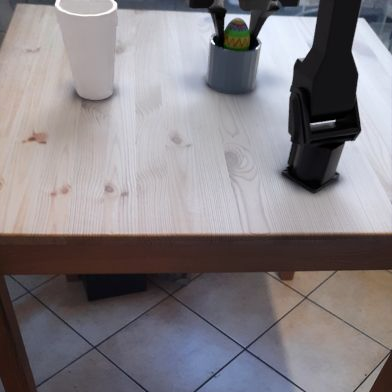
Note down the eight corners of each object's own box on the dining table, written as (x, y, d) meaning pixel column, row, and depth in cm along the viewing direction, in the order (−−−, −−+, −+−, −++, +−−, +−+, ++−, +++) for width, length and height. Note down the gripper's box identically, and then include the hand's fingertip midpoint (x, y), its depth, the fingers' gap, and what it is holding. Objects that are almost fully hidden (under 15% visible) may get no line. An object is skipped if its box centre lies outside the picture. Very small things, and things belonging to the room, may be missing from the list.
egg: (214, 54, 87) (218, 15, 82) (234, 48, 89) (239, 10, 84) (233, 65, 84) (237, 26, 80) (253, 58, 86) (259, 20, 82)
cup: (264, 85, 90) (272, 43, 85) (231, 99, 86) (237, 56, 81) (230, 67, 94) (234, 26, 88) (196, 79, 90) (199, 37, 84)
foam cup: (70, 106, 81) (57, 17, 71) (64, 80, 86) (51, -7, 76) (126, 102, 83) (122, 15, 73) (117, 77, 88) (112, -8, 78)
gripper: (201, -48, 67) (194, 72, 79) (326, -47, 70) (300, 67, 83) (183, -71, 73) (179, 43, 85) (298, -69, 77) (278, 40, 89)
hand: (234, 49), depth 86 cm, fingers closed on egg, 5 cm apart
